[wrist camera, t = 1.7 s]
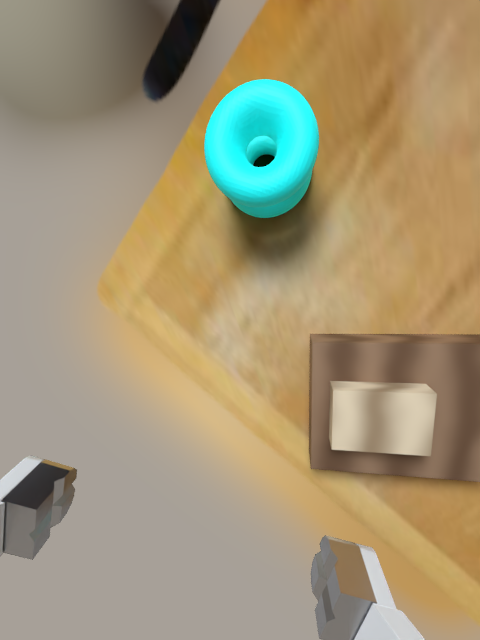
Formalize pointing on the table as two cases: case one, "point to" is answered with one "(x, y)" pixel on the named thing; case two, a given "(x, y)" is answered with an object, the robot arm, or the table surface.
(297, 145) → the donuts
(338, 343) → the walnut board
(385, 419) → the cream block
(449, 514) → the table surface
